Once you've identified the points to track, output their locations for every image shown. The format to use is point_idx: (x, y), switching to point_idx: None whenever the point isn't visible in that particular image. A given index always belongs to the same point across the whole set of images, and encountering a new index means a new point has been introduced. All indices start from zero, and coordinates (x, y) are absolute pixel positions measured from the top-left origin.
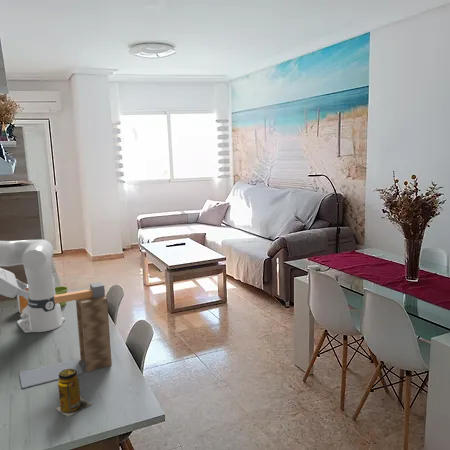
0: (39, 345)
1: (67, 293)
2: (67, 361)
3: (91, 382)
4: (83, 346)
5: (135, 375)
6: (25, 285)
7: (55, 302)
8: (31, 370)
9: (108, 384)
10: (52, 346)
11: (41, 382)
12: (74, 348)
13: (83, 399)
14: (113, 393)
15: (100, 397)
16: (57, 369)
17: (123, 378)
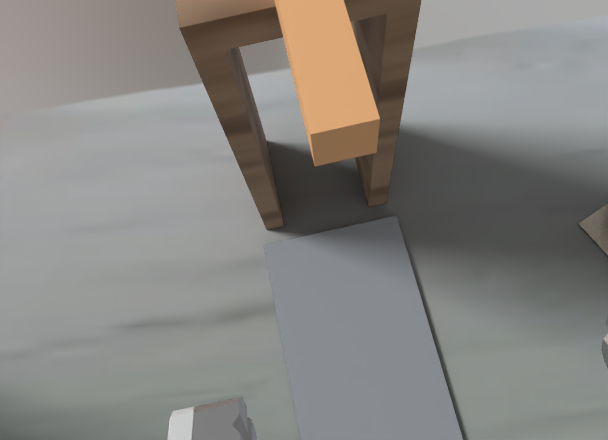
0: (36, 424)
1: (304, 24)
2: (277, 279)
3: (478, 185)
4: (273, 189)
5: (462, 49)
6: (240, 419)
7: (376, 145)
8: (310, 433)
9: (507, 130)
10: (79, 358)
11: (440, 375)
12: (148, 259)
13: (603, 208)
14: (575, 115)
15: (595, 154)
16: (338, 316)
17: (474, 84)
